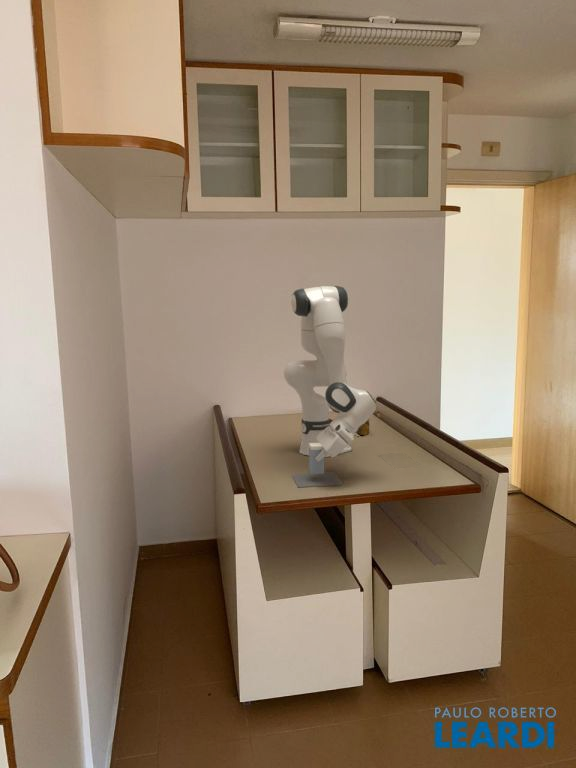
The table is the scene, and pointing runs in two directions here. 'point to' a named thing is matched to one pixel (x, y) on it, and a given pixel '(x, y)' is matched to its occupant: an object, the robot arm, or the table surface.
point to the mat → (317, 480)
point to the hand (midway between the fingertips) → (314, 457)
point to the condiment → (363, 428)
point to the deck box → (314, 465)
